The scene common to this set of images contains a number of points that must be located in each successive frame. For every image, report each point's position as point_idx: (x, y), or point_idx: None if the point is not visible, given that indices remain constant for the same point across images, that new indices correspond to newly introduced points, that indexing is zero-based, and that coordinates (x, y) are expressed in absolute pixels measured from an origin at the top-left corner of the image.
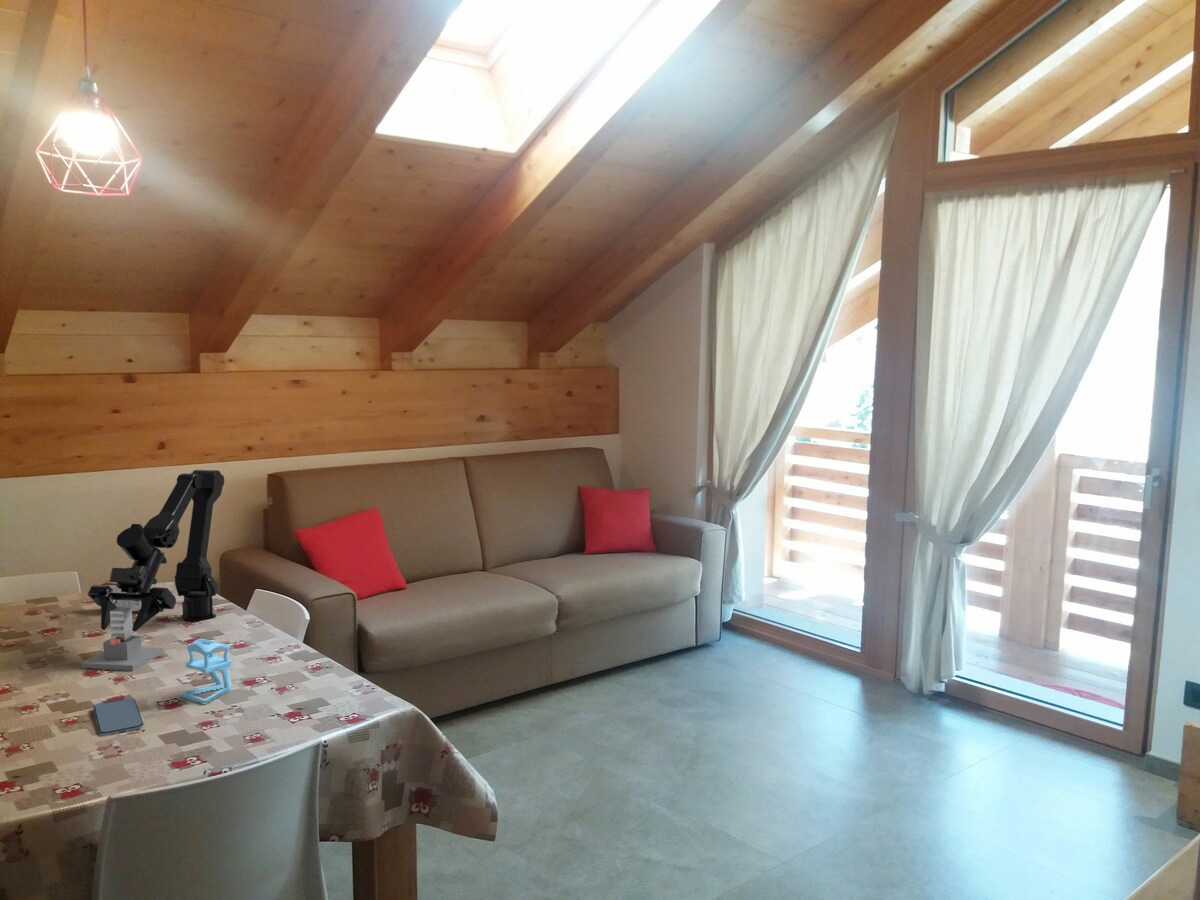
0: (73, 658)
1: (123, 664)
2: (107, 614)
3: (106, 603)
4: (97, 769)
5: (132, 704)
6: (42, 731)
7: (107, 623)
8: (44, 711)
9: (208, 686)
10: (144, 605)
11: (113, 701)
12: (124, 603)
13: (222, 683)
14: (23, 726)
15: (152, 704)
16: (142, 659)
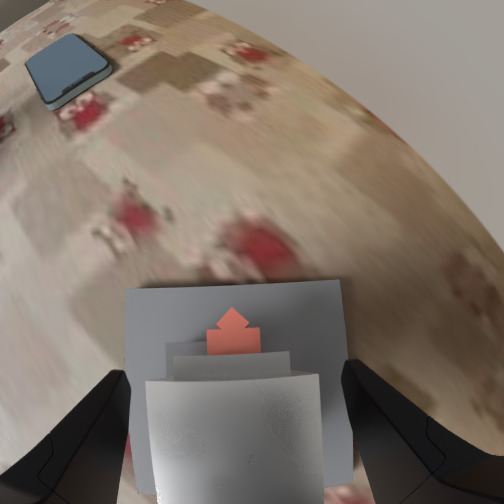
0: (426, 363)
1: (165, 294)
2: (389, 444)
3: (457, 481)
4: (60, 11)
5: (44, 86)
6: (160, 18)
7: (354, 417)
8: (206, 49)
9: None
10: (9, 490)
11: (77, 79)
12: None
13: None
14: (201, 19)
15: (21, 119)
16: (126, 359)
